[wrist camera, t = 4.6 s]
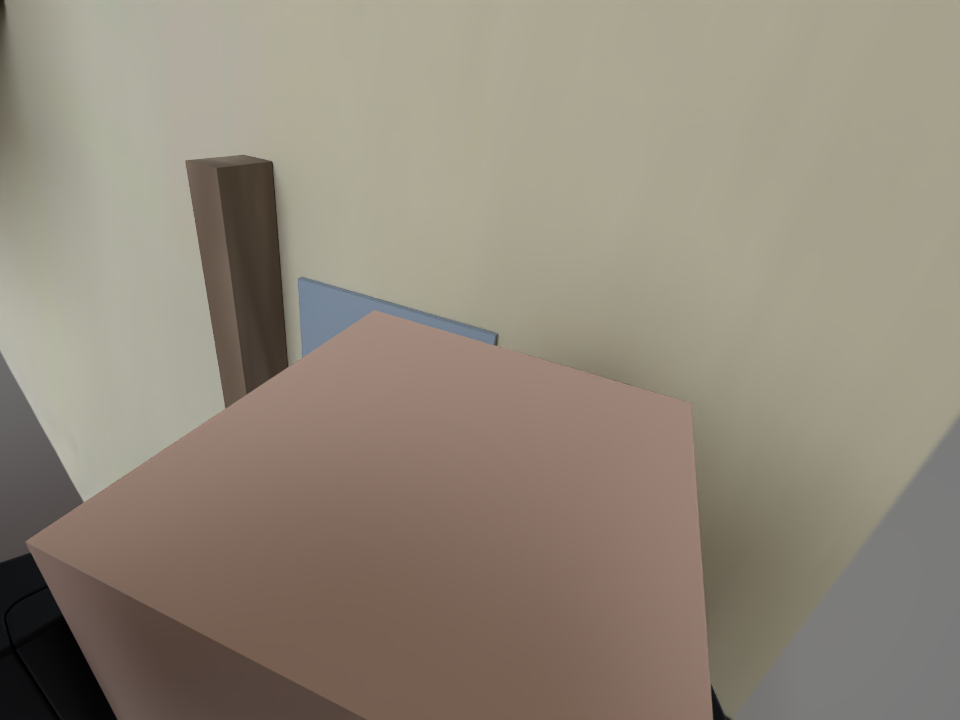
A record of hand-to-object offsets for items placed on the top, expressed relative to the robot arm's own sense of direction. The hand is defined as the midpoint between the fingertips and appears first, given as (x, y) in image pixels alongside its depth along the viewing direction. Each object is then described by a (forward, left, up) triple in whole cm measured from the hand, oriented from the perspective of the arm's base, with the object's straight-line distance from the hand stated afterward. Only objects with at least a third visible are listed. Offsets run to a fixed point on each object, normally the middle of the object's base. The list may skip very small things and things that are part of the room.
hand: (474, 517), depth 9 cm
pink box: (0, 0, -1) cm, 1 cm away
